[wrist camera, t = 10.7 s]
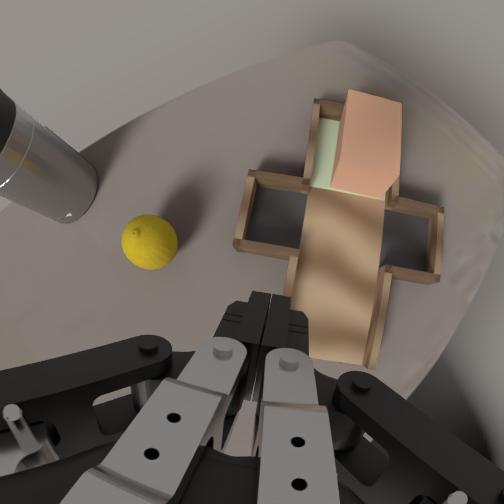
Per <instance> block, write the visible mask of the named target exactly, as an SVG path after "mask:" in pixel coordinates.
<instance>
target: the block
mask: <svg viewBox="0 0 504 504" xmlns="http://www.w3.org/2000/svg"><path fill="white" fill-rule="evenodd" d="M401 131H402V103H399V102H396V101H392V100H389V99H385V98H382V97H378V96H374V95H370V94H366V93H362V92H358V91H354V90H350V89H348V93H347V97H346V101H345V105H344V108H343V112H342V116H341V119H340V123H339V130H338V138H337V144H336V151H335V158H334V164H333V171H332V177H331V183H330V188H335V189H339V190H343V191H348V192H352V193H356V194H360V195H364V196H369V197H373V198H377V199H381V197H382V196H383V195H384V194H385V192H386V191H387V190H388V189H389V188H390V186H391V185H392V184H393V183H394V182H395V180H396V179H397V178H398V177H399V175H400V159H401Z"/></svg>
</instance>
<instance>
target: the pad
mask: <svg viewBox="0 0 504 504" xmlns="http://www.w3.org/2000/svg"><path fill="white" fill-rule="evenodd" d="M339 123H340V121H336V120H330V119H324V118H319V119H318V127H317V135H316V143H315V151H314V158H313V165H312V173H311V180H310V186H311V187H317V188H322V189H328V190H333V191H339V192H344V193H349V194H354V195H359V196H364V195H360V194H356V193H352V192H348V191H343V190H339V189H335V188H330V183H331V177H332V171H333V164H334V158H335V151H336V144H337V138H338V130H339ZM385 194H386V192H385ZM385 194H384V195H383V196H382V197H381V199H379V200H383V201H385ZM364 197H369V196H364ZM369 198H373V197H369ZM374 199H377V198H374Z"/></svg>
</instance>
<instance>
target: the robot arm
mask: <svg viewBox="0 0 504 504" xmlns="http://www.w3.org/2000/svg"><path fill="white" fill-rule="evenodd" d="M96 190H97V175H96V171H95V170H94V168H93V167H92V166H91V165H90V164H89V163H88V162H87V161H85V160H84V159H83V156H82V155H81V154H79V153H78V152H77V151H76V150H74V149H73V148H72V147H71V146H69V145H68V144H67V143H66V142H65V141H63V140H62V139H61V138H60V137H59V136H57V135H56V134H55V133H54V132H53V131H51V130H50V129H49V128H48V127H46V126H42V125H41V124H40V123H39V122H38V121H36V120H35V119H34V118H33V117H32V116H30V115H29V114H28V113H27V112H25V111H24V110H23V109H22V108H21V107H19V106H18V105H17V104H16V103H15V102H14V101H12V100H11V99H10V98H9V97H8V96H7V95H6V94H4V92H3V91H2V90H1V89H0V196H2V197H5V198H7V199H9V200H11V201H13V202H15V203H17V204H20V205H22V206H24V207H26V208H28V209H31V210H33V211H35V212H37V213H39V214H42V215H44V216H46V217H48V218H51V219H53V220H55V221H57V222H60V223H70V222H73V221H75V220H77V219H78V218H79V217H81V216H82V215H83V214H84V213H85V212H86V211H87V210H88V208H89V207H90V205H91V203H92V201H93V199H94V197H95V194H96ZM270 298H271V294H269V293H263V292H257V291H252V293H251V296H250V298H249V301H248V303H247V302H241V301H235V302H234V303H232V304H230V305H229V306H228V307H227V310H226V312H225V314H224V316H223V318H222V320H221V322H220V324H219V326H218V328H217V330H216V332H215V334H214V336H213V338H209V339H207V340H205V341H203V342H202V343H201V345H200V346H199V347H198V349H197V350H196V351H192V352H172V346H171V344H170V343H169V341H167V340H166V339H164V338H162V337H160V336H156V335H141V336H137V337H133V338H129V339H126V340H122V341H119V342H115V343H111V344H108V345H104V346H100V347H96V348H93V349H89V350H85V351H81V352H77V353H73V354H69V355H65V356H61V357H57V358H53V359H49V360H45V361H41V362H37V363H32V364H28V365H24V366H19V367H15V368H10V369H6V370H1V371H0V504H365V503H364V502H363V501H362V500H361V499H360V498H359V497H358V496H357V495H356V494H355V493H354V492H353V491H352V490H351V489H350V488H348V487H347V486H346V485H344V484H343V483H341V482H340V481H338V480H337V474H338V475H339V476H340V477H341V478H342V479H343V480H344V481H345V482H346V483H347V484H348V485H349V486H350V487H351V488H352V489H353V490H354V491H355V492H356V493H357V494H358V495H359V496H360V497H361V498H362V499H363V500H364V501H366V502H367V503H368V504H504V471H503V470H501V469H500V468H499V467H497V466H496V465H494V464H493V463H491V462H490V461H489V460H487V459H486V458H484V457H483V456H482V455H480V454H479V453H477V452H476V451H474V450H473V449H472V448H470V447H469V446H467V445H466V444H465V443H464V442H462V441H461V440H459V439H458V438H457V437H455V436H454V435H453V434H451V433H450V432H448V431H447V430H446V429H444V428H443V427H442V426H440V425H439V424H437V423H436V422H435V421H433V420H432V419H431V418H429V417H428V416H426V415H425V414H424V413H423V412H421V411H420V410H419V409H417V408H416V407H415V406H413V405H412V404H410V403H409V402H408V401H407V400H405V399H404V398H403V397H401V396H400V395H399V394H397V393H396V392H395V391H393V390H392V389H391V388H389V387H388V386H387V385H385V384H384V383H383V382H381V381H380V380H379V379H377V378H376V377H374V376H373V375H371V374H368V373H365V372H361V371H350V372H346V373H344V374H342V375H341V376H340V377H339V379H338V380H337V379H334V378H331V377H328V376H326V375H323V374H321V373H320V372H318V371H317V370H316V369H314V367H313V362H312V360H311V358H310V357H309V335H308V334H309V328H308V327H309V319H308V318H307V316H306V315H305V314H304V312H303V311H297V310H290V306H291V297H288V296H282V295H275V294H273V295H272V299H271V304H270ZM269 305H270V308H269ZM268 311H269V313H268ZM256 373H257V375H256ZM255 377H256V381H255ZM254 382H255V387H254V393H253V399H252V401H255V402H258V403H257V408H256V414H255V419H254V427H253V437H252V447H251V456H248V457H234V456H229V455H226V454H224V451H225V449H226V446H227V444H228V441H229V439H230V436H231V434H232V431H233V429H234V426H235V424H236V421H237V418H238V414H239V410H240V409H241V407H242V403H243V400H249V401H250V399H251V395H252V390H253V386H254ZM128 386H130V387H131V393H132V394H129V395H126V396H123V397H120V398H117V399H114V400H111V401H108V402H105V403H101V404H98V405H95V406H92V405H93V402H94V400H95V399H96V398H97V397H99V396H101V395H104V394H107V393H110V392H113V391H116V390H119V389H122V388H125V387H128ZM365 432H366V433H367V434H368V435H369V436H370V437H372V438H373V439H374V440H375V441H376V442H377V443H379V444H380V445H381V446H382V447H383V448H384V449H385V450H386V451H387V452H388V454H389V457H390V459H388V458H387V457H386V456H385V455H384V454H382V453H381V452H380V451H379V450H378V449H377V448H376V447H375V446H374V445H372V444H371V443H370V442H369V441H368V440H367V439H366V438H365V437H363V435H364V433H365ZM336 473H337V474H336Z"/></svg>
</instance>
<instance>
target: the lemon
mask: <svg viewBox="0 0 504 504" xmlns="http://www.w3.org/2000/svg"><path fill="white" fill-rule="evenodd" d="M121 240H122V247H123V251H124V253H125V254H126V256H127V258H128V259H129V260H130V261H131V262H132V263H134V264H135V265H137V266H139V267H141V268H144V269H149V270H152V269H159V268H162V267H164V266H166V265H167V264H169V263H170V262H171V260H172V259H173V258H174V256H175V254H176V251H177V248H178V240H177V235H176V233H175V231H174V229H173V227H172V226H171V225H170V224H169V223H168V222H167V221H165V220H164V219H162V218H161V217H158V216H154V215H141V216H138V217H135V218H134V219H132V220H131V221H130V222H129V223H128V224H127V225H126V227H125V228H124V231H123V233H122V239H121Z"/></svg>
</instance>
